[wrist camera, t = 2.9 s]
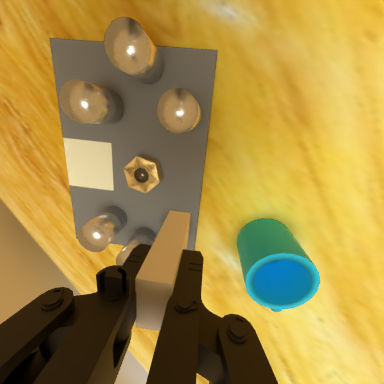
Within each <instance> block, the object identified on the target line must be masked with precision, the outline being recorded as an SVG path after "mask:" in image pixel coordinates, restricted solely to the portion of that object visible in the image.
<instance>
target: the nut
mask: <svg viewBox="0 0 384 384" xmlns="http://www.w3.org/2000/svg"><path fill="white" fill-rule="evenodd" d="M123 169H124V172H125V176H126V179H127V183H128V186H129V187H131V188H133V189H136V190H138V191H141V192H144V193H147V192H149V191H150V190H151V189H152V188H153V187H155V186H156V185H157V184H158V183H159V182H160V181H161V180H162V179H163V175H162V171H161V166H160V162H159V161H158V160H156V159H153V158H151V157H148V156H145V155H143V154H141V155H139V156H136V157H135V158H134V159H133V160H132V161H131V162H130V163H129V164H128V165H127V166H126V167H124V168H123Z"/></svg>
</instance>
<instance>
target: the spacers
mask: <svg viewBox="0 0 384 384" xmlns="http://www.w3.org/2000/svg"><path fill="white" fill-rule="evenodd" d="M104 46H105V51H106V54H107V56H108V58H109V60H110V61H111V63H112V64H113V65H114V66H115V67H117V68H118V69H120V70H121V71H123V72H125V73H126V74H128V75H130V76H131V77H133V78H135V79H136V80H138V81H140V82H141V83H143V84H149V85H150V84H154V83H156V82H157V81H158V80H159V79H160V78H161V77H162V75H163V72H164V60H163V57H162V55H161V53H160V52H159V50H158V49H157V48H156V46H155V45H154V43H153V42H152V41H151V39H150V38H149V36H148V35H147V34H146V32H145V31H144V30H143V28H142V27H141V26H140V24H139V23H138V22H136V21H135V20H133V19H131V18H128V17H120V18H117V19H115V20H114V21H113V22H111V24H110V25H109V26H108V28H107V30H106V33H105V37H104ZM59 100H60V104H61V107H62V109H63V111H64V113H65V114H66V115H67V116H68V117H69V118H70V119H71V120H73V121H75V122H77V123H92V124H114V123H117V122H119V121H120V120H121V119H122V117H123V115H124V103H123V101H122V99H121V97H120V96H119V95H118V94H117V93H115V92H114V91H111V90H108V89H105V88H102V87H99V86H96V85H94V84H91V83H88V82H85V81H82V80H79V79H71V80H68V81H67V82H65V83H64V84H63V86H62V87H61V90H60V94H59ZM157 114H158V118H159V121H160V122H161V124H162V125H163V127H164V128H166V129H167V130H168V131H170V132H173V133H183V132H188V131H191V130H193V129H195V128H196V127H197V126H198V125H199V123H200V121H201V118H202V111H201V108H200V105H199V104H198V102H197V101H196V99H195V98H194V96H193V95H192V94H191V93H190V92H188V91H187V90H185V89H182V88H173V89H170V90H168V91H167V92H165V93H164V94H163V95H162V97H161V98H160V100H159V102H158V106H157ZM126 223H127V215H126V213H125V212H124V211H123V210H122V209H121V208H119V207H117V206H109V207H107V208H106V209H104V210H103V211H102V212H101V213H99V214H98V215H97V216H95V217H94V218H93V219H91V220H90V221H89V222H88V223H86V224H85V225H84V226H82V227H81V228H80V229H79V231H78V234H77V236H78V240H79V242H80V244H81V245H82V246H83V247H84V248H85V249H87V250H89V251H92V252H100V251H102V250H104V249H105V248H106V247H107V246H108V244H109V243H110V242H111V241H112V240H113V239H114V238H115V236H116V235H117V234H118V233H119V232H120V231H121V230H122V228H123V227H124V226H125V225H126ZM189 231H190V224H189ZM188 236H189V234H188ZM156 237H157V235H156V233H155V232H154V231H153V230H152V229H150V228H147V227H141V228H138V229H137V230H136V231H135V232H134V234H133V235H132V236H131V238H130V239H129V241H128V242H127V243H126V245H125V246H124V247H123V249H122V250H121V251H120V253H119V254H118V256H117V258H116V264H117V265H121V266H122V265H123V263H124V262H125V261H126V259H127V257H128V256H129V254H130V253H131V251H132V250H133V248H135V247H136V246H137V245H139V244H147V245H153V243H154V241H155V239H156Z"/></svg>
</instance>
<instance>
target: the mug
mask: <svg viewBox="0 0 384 384" xmlns="http://www.w3.org/2000/svg"><path fill="white" fill-rule="evenodd" d="M237 247H238V252H239V256H240V261H241V266H242V271H243V276H244V281H245V285H246V289H247V292H248V294H249V295H250V296H251V298H252V299H253V300H254V301H256V302H257V303H259V304H260V305H263V306H265V307H268V308H271V310H272V311H274V312H279V311H281V310H282V309H288V308H294V307H297V306H299V305H302V304H304V303H305V302H307V301H308V300H310V299H311V298H312V297H313V296H314V294H315V293H316V292H317V290H318V287H319V284H320V277H319V272H318V270H317V269H316V267H315V266H314V264H313V263H312V261H311V260H310V259H309V257H308V256H307V254H306V253H305V252H304V250H303V249H302V248H301V246H300V245H299V243H298V242H297V241H296V239H295V238H294V237H293V235H292V234H291V232H290V231H289V230H288V228H287V227H286V226H285V225H283V224H282V223H281V222H279V221H276V220H273V219H258V220H254V221H252V222H250V223H248V224H247V225H246V226H245V227H244V228H243V229H242V230H241V231H240V233H239V235H238V238H237Z"/></svg>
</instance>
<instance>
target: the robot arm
mask: <svg viewBox="0 0 384 384" xmlns="http://www.w3.org/2000/svg"><path fill="white" fill-rule="evenodd" d="M190 214H191V213H187V212H179V211H172V210H170V212H169V213H168V215H167V217H166V219H165V221H164V223H163V225H162V227H161V229H160V231H159V233H158V235H157V237H156V239H155V241H154V243H153V245H147V244H139V245H137V246H136V247H135V248H133V250H132V251H131V253H130V254H129V256H128V257H127V259H126V261H125V262H124V263H123V265H122V266H121V265H113V266H109V267H106V268H104V269H102V270H101V271H99V272H98V273H97V274H96V280H97V290H98V291H97V292H96V293H92V294H86V295H79V296H73V291H72V290H70V289H69V288H65V287H60V288H54V289H51V290H48V291H47V292H45V293H43V294H41V295H40V296H39V297H37V298H36V299H34V300H33V301H32V302H30V303H29V304H28V305H26V306H25V307H23V308H22V309H21V310H20V311H18V312H17V313H15V314H14V315H13V316H11V317H10V318H9V319H7V320H6V321H4V322H3V323H2V324H0V384H114V382H115V380H116V377H117V375H118V372H119V370H120V367H121V364H122V361H123V359H124V356H125V354H126V351H127V349H128V346H129V343H130V340H131V329H132V327H133V324H134V322H135V319H136V327H139V328H145V329H150V330H156V331H160V332H159V336H158V340H157V344H156V348H155V352H154V355H153V359H152V363H151V367H150V371H149V375H148V378H147V382H146V384H196V373H198V374H199V375H201V376H203V377H204V378H206V379H207V380H209V382H210V384H278V382H277V380H276V378H275V375H274V373H273V371H272V368H271V366H270V364H269V361H268V359H267V357H266V355H265V352H264V350H263V348H262V345H261V343H260V341H259V338H258V336H257V334H256V332H255V330H254V328H253V326H252V325H251V323H250V322H248V321H247V320H246V319H245V318H244V317H242V316H239V315H236V314H229V315H225V316H224V317H223V318H221V317H219V316H217V315H215V314H213V313H212V312H210V311H209V310H208V309H207V308H206V307H205V306H204V304H203V303H202V300H201V286H202V271H203V256H202V254H201V252H200V251H193V250H186V249H187V243H188V234H189V224H190Z"/></svg>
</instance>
